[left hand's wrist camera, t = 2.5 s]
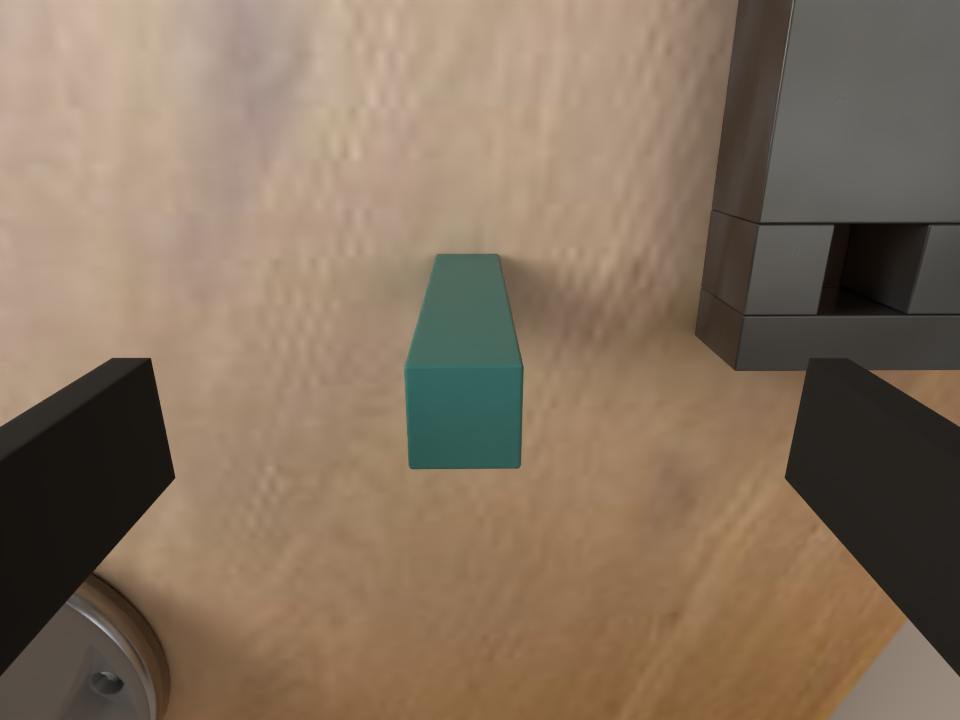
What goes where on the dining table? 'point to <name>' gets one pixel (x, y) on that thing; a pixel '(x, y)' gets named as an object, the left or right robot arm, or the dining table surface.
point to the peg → (464, 370)
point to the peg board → (838, 187)
